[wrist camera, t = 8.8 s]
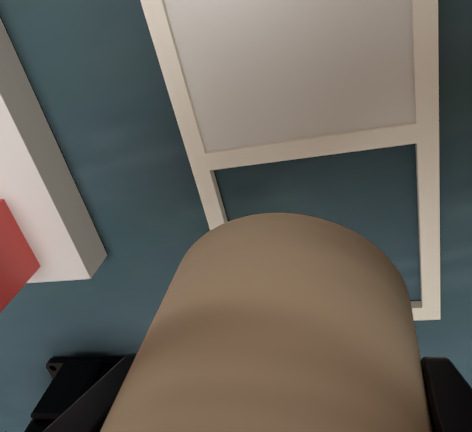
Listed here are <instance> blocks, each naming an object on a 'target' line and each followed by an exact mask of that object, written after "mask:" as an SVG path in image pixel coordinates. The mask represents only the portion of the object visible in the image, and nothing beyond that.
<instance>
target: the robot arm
mask: <svg viewBox="0 0 472 432" xmlns="http://www.w3.org/2000/svg"><path fill="white" fill-rule="evenodd" d="M136 355H137V354H136V353H132V354H128V355H126V356H125V357H124V358H51V359H50V360H49V361H48V362H47V364H46V368H47V370H48V371H49V373H50V375H51V376H52V378H53V380H52V382H51V384H50V385H49V387H48V388H47V390H46V392H45V393H44V395H43V396H42V398H41V399H40V401H39V403H38V404H37V406H36V407H35V409H34V410H33V412H32V414H31V418H32V420H31V422H30V423H29V425H28V427H27V428H26V430H25V431H24V432H100V430H101V428H102V426H103V424H104V422H105V420H106V418H107V416H108V414H109V411H110V409H111V407H112V405H113V403H114V401H115V399H116V397H117V395H118V393H119V391H120V388H121V386H122V384H123V382H124V380H125V378H126V376H127V374H128V372H129V370H130V367H131V365H132V363H133V361H134V359H135V357H136ZM421 366H422V371H423V377H424V383H425V388H426V394H427V400H428V406H429V411H430V417H431V423H432V428H433V432H472V388H471V387H470V385H469V384H468V383H467V382H466V380H465V379H464V378H463V376H462V375H461V374H460V372H459V371H458V370H457V369H456V367H455V366H454V365H453V363H452V362H451V361H450V360H449V359H448V358H446V357H423V358H422V360H421ZM5 432H6V431H5Z"/></svg>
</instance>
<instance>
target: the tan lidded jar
mask: <svg viewBox="0 0 472 432" xmlns="http://www.w3.org/2000/svg"><path fill="white" fill-rule="evenodd" d="M100 432H433V428H432V423H431V417H430V411H429V406H428V400H427V394H426V388H425V383H424V377H423V371H422V366H421V359H420V353H419V347H418V342H417V336H416V330H415V325H414V319H413V313H412V308H411V302H410V297H409V294H408V290H407V287H406V284H405V282H404V280H403V278H402V276H401V274H400V273H399V271H398V270H397V268H396V267H395V266H394V264H393V263H392V261H391V260H390V259H389V258H388V257H387V256H386V255H385V254H384V253H383V252H382V251H381V250H380V249H379V248H377V247H376V246H375V245H374V244H372V243H371V242H370V241H368V240H367V239H366V238H364V237H362V236H361V235H359V234H357V233H356V232H354V231H352V230H350V229H348V228H345V227H343V226H341V225H339V224H337V223H333V222H330V221H327V220H324V219H321V218H317V217H312V216H307V215H302V214H292V213H264V214H256V215H249V216H245V217H241V218H238V219H234V220H231V221H229V222H226V223H224V224H221V225H219V226H217V227H216V228H214V229H212V230H210V231H209V232H207V233H206V234H205V235H203V236H202V237H201V238H199V239H198V240H197V241H196V242H195V243H194V244H193V245H192V246H191V247H190V249H189V250H188V251H187V253H186V254H185V256H184V257H183V259H182V261H181V263H180V265H179V267H178V269H177V271H176V273H175V275H174V277H173V279H172V281H171V284H170V286H169V288H168V290H167V292H166V294H165V296H164V298H163V300H162V302H161V305H160V307H159V309H158V311H157V313H156V315H155V317H154V319H153V321H152V323H151V326H150V328H149V330H148V332H147V334H146V336H145V338H144V340H143V342H142V344H141V346H140V349H139V351H138V353H137V355H136V357H135V359H134V361H133V363H132V365H131V367H130V370H129V372H128V374H127V376H126V378H125V380H124V382H123V384H122V386H121V388H120V391H119V393H118V395H117V397H116V399H115V401H114V403H113V405H112V407H111V409H110V411H109V414H108V416H107V418H106V420H105V422H104V424H103V426H102V428H101V430H100Z"/></svg>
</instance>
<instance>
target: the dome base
mask: <svg viewBox="0 0 472 432" xmlns="http://www.w3.org/2000/svg"><path fill="white" fill-rule="evenodd" d="M106 257H107V253H106V251H105V249H104V246H103V244H102V242H101V240H100V238H99V235H98V233H97V231H96V229H95V227H94V224H93V222H92V220H91V218H90V215H89V213H88V211H87V209H86V207H85V204H84V202H83V200H82V198H81V196H80V193H79V191H78V189H77V187H76V184H75V182H74V180H73V178H72V176H71V173H70V171H69V169H68V167H67V164H66V162H65V160H64V158H63V156H62V153H61V151H60V149H59V147H58V145H57V142H56V140H55V138H54V136H53V133H52V131H51V129H50V127H49V125H48V122H47V120H46V118H45V116H44V114H43V111H42V109H41V107H40V105H39V102H38V100H37V98H36V96H35V94H34V91H33V89H32V87H31V85H30V83H29V80H28V78H27V76H26V74H25V71H24V69H23V67H22V65H21V63H20V60H19V58H18V56H17V54H16V52H15V49H14V47H13V45H12V43H11V40H10V38H9V36H8V34H7V32H6V29H5V27H4V25H3V23H2V20H1V18H0V312H1V311H2V310H3V309H4V308H5V307H6V305H7V304H8V303H9V302H10V301H11V300H12V299H13V297H14V296H15V295H16V294H17V293H18V292H19V291H20V290H21V288H22V287H23V286H24V285H25V284H26V283H36V282H51V281H66V280H82V279H91V278H92V276H93V275H94V274H95V272H96V271H97V269H98V268H99V267H100V265H101V264H102V262H103V261H104V259H105V258H106Z"/></svg>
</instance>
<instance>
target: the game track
mask: <svg viewBox="0 0 472 432" xmlns="http://www.w3.org/2000/svg"><path fill="white" fill-rule="evenodd" d="M140 1H141V4H142V8H143V11H144V14H145V17H146V21H147V24H148V27H149V31H150V34H151V37H152V40H153V44H154V47H155V50H156V54H157V57H158V60H159V63H160V67H161V70H162V73H163V77H164V80H165V83H166V86H167V90H168V93H169V96H170V100H171V103H172V106H173V110H174V113H175V116H176V119H177V123H178V126H179V129H180V133H181V136H182V139H183V142H184V146H185V149H186V152H187V156H188V159H189V162H190V165H191V169H192V172H193V175H194V179H195V182H196V185H197V188H198V192H199V195H200V198H201V202H202V205H203V208H204V211H205V215H206V218H207V221H208V225H209V228H210V230H212V229H214V228H216V227H217V226H219V225H221V224H224V223H226V222H228V221H227V217H226V214H225V210H224V206H223V203H222V199H221V196H220V192H219V188H218V185H217V181H216V178H215V174H214V170H217V169H225V168H232V167H240V166H248V165H255V164H263V163H271V162H278V161H286V160H293V159H301V158H309V157H316V156H324V155H332V154H339V153H347V152H355V151H362V150H370V149H377V148H385V147H393V146H400V145H408V144H415V148H416V177H417V205H418V234H419V262H420V291H421V301H410V302H411V308H412V313H413V319H414V320H440V190H439V56H438V0H140Z"/></svg>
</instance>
